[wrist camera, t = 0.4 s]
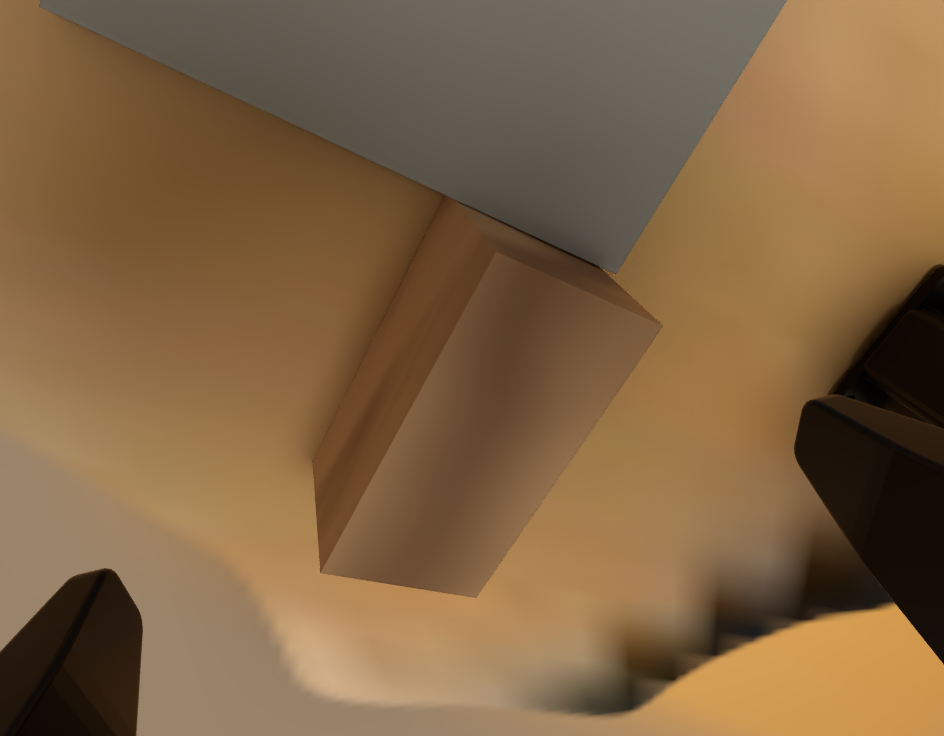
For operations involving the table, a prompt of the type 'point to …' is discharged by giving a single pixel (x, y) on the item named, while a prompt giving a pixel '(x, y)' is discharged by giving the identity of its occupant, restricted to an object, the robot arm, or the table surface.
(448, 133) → the board
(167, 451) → the table surface
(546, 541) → the table surface
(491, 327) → the tan rectangular box
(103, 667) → the robot arm
